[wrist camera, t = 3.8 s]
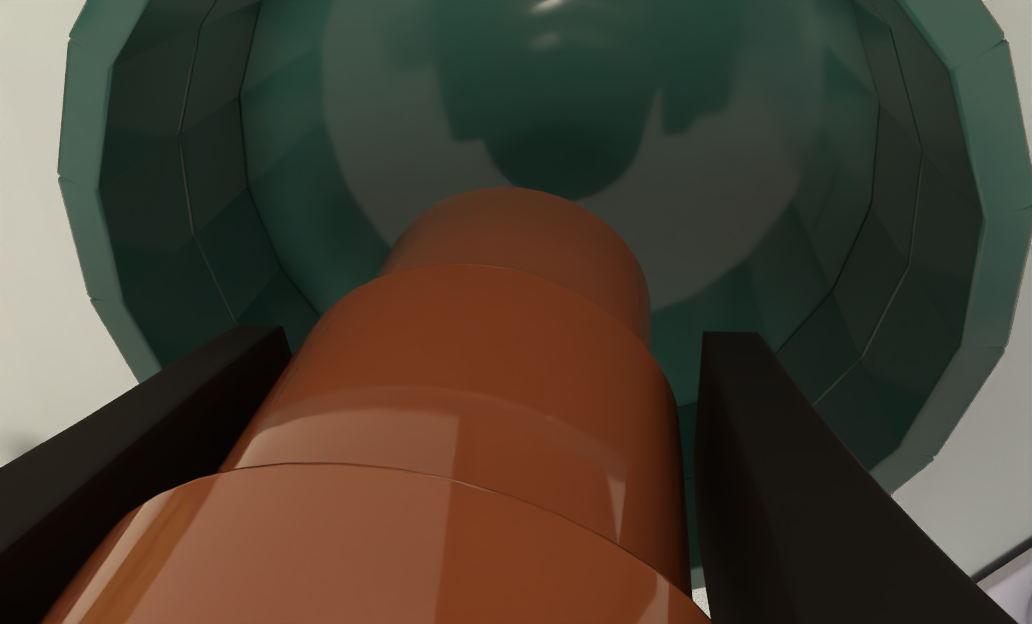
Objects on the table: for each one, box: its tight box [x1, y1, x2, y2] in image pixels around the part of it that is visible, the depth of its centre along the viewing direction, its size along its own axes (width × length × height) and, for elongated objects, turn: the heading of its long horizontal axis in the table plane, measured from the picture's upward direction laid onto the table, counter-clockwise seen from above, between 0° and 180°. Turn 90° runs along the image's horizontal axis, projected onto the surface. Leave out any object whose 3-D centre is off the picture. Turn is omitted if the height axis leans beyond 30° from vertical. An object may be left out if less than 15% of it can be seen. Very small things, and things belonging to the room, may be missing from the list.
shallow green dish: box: [57, 0, 1032, 590], centre depth 12 cm, size 13×13×5 cm
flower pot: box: [39, 187, 715, 624], centre depth 8 cm, size 5×5×7 cm
